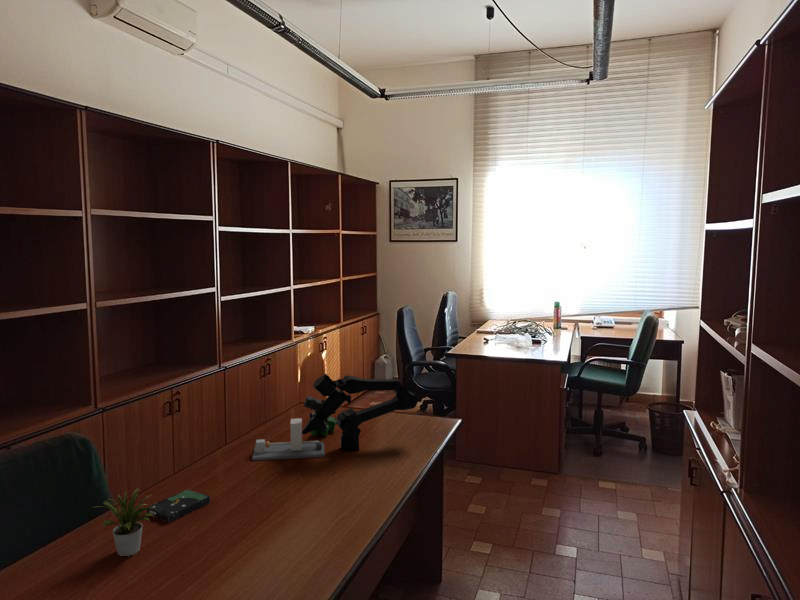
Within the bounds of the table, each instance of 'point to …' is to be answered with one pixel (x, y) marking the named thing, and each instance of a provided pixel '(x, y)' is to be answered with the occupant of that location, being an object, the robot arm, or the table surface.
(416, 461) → the table surface
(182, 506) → the disk drive
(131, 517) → the house plant
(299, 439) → the stepped pale block
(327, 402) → the robot arm
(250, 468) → the table surface
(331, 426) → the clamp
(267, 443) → the flat grey panel
